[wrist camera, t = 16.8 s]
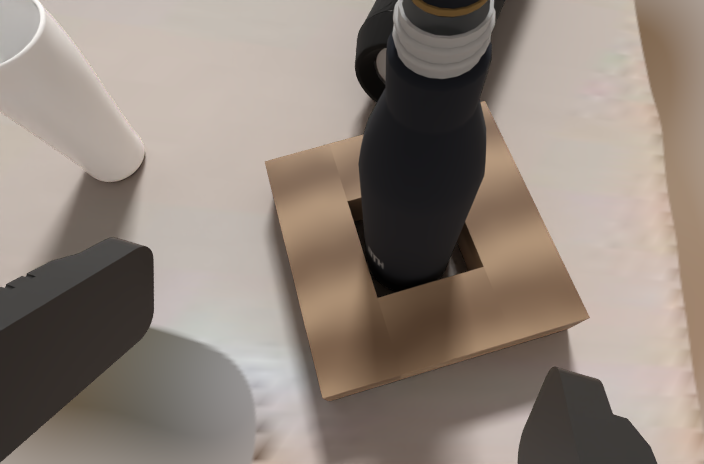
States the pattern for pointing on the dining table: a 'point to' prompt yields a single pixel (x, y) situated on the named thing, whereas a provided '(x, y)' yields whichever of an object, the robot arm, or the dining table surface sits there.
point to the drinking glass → (61, 94)
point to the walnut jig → (425, 300)
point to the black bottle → (425, 139)
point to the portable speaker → (380, 46)
